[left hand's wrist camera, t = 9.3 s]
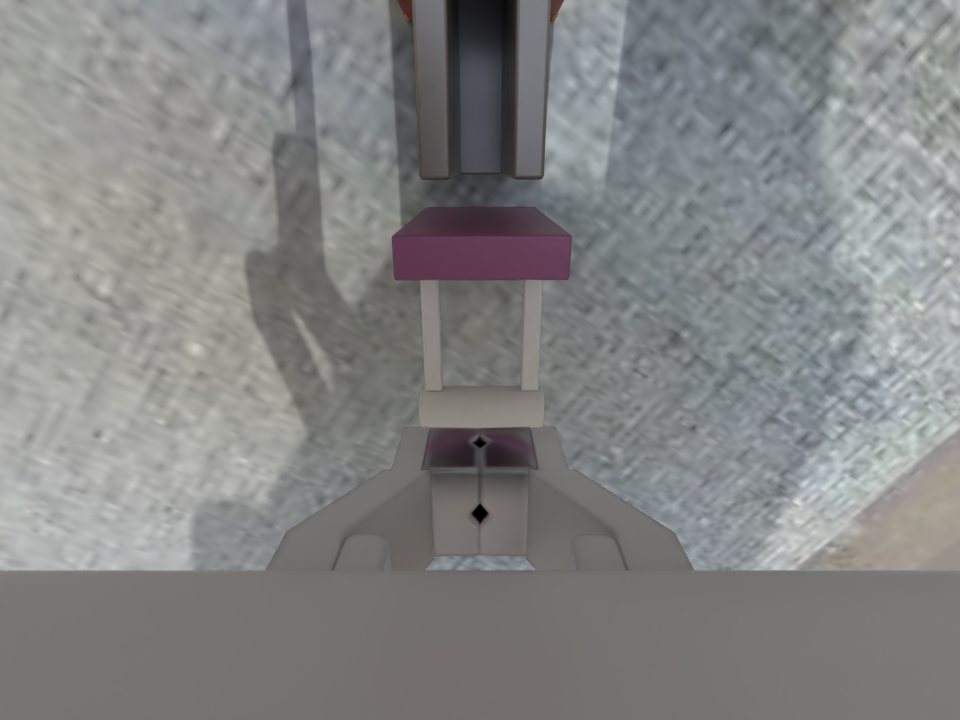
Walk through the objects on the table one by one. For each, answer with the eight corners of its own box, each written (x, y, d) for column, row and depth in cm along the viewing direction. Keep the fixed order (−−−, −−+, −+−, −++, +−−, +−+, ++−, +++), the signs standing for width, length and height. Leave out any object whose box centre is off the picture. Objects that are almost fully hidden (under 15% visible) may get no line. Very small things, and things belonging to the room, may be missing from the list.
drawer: (529, 362, 25) (557, 472, 16) (432, 362, 25) (406, 472, 16) (555, -372, 16) (651, -1043, 7) (404, -372, 16) (309, -1042, 7)
